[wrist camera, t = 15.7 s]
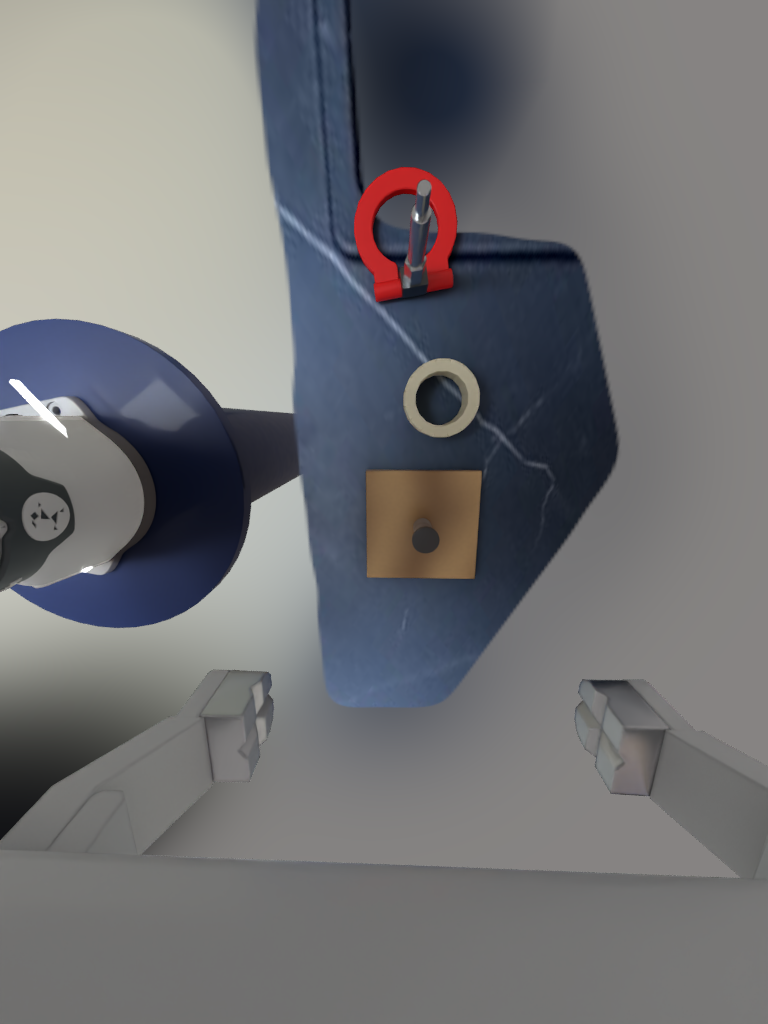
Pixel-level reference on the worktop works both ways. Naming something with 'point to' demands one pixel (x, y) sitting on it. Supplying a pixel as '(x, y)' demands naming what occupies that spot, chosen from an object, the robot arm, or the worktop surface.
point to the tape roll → (467, 389)
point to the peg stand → (422, 523)
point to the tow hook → (418, 267)
